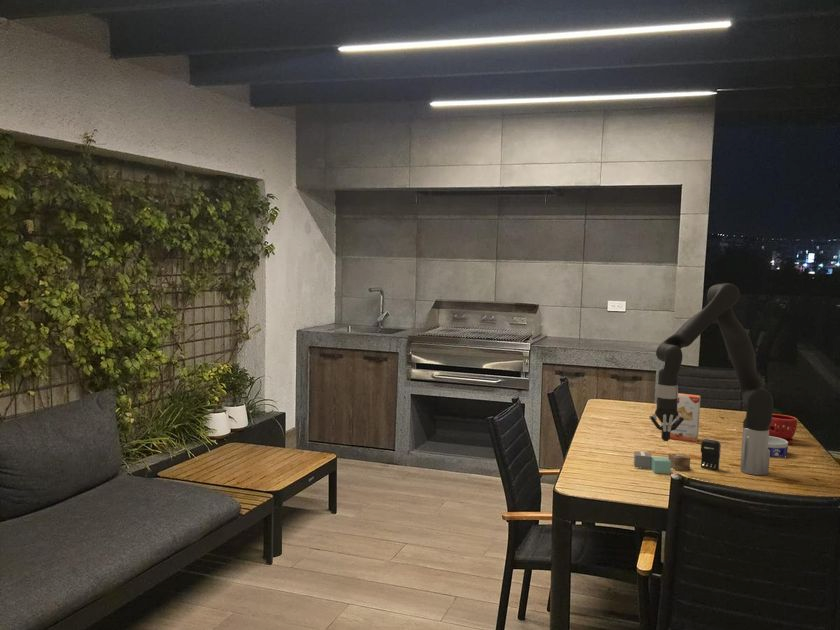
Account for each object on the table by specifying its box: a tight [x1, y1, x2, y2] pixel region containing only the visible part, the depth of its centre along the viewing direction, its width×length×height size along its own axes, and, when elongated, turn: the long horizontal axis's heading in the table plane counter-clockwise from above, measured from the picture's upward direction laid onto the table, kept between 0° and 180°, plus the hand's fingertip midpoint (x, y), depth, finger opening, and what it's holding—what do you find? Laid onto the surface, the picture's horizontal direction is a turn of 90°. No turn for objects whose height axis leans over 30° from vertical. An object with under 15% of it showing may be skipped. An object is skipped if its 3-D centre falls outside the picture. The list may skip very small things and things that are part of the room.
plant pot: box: [769, 413, 798, 445], centre depth 323 cm, size 13×13×12 cm
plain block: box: [650, 456, 672, 475], centre depth 272 cm, size 6×6×5 cm
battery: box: [700, 438, 722, 471], centre depth 277 cm, size 7×4×11 cm, turn 49°
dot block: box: [668, 453, 691, 471], centre depth 277 cm, size 6×6×5 cm
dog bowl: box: [768, 436, 789, 458], centre depth 304 cm, size 15×15×6 cm
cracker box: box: [670, 392, 702, 443], centre depth 323 cm, size 14×6×21 cm, turn 62°
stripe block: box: [633, 451, 652, 470], centre depth 278 cm, size 6×6×5 cm
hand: (665, 440), depth 271 cm, fingers closed
